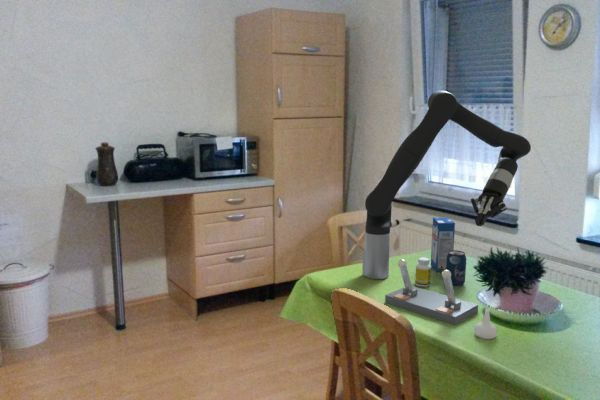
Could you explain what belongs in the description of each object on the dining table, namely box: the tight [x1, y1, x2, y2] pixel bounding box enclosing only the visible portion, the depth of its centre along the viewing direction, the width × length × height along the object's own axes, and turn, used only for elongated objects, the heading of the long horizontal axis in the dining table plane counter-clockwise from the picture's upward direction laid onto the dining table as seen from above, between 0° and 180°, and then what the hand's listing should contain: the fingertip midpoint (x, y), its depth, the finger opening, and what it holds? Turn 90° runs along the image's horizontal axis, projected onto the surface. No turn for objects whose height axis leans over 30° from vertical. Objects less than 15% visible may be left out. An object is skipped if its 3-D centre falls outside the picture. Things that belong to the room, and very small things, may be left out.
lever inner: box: [397, 259, 413, 293], centre depth 182 cm, size 3×3×13 cm
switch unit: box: [384, 285, 479, 326], centre depth 180 cm, size 26×14×4 cm, turn 45°
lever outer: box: [441, 270, 456, 306], centre depth 171 cm, size 3×3×13 cm
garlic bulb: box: [473, 308, 498, 340], centre depth 158 cm, size 6×6×8 cm
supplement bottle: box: [414, 256, 432, 288], centre depth 201 cm, size 5×5×10 cm
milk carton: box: [430, 217, 456, 274], centre depth 218 cm, size 10×6×20 cm, turn 179°
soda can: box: [446, 249, 467, 287], centre depth 201 cm, size 7×7×12 cm
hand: (478, 224), depth 186 cm, fingers closed
